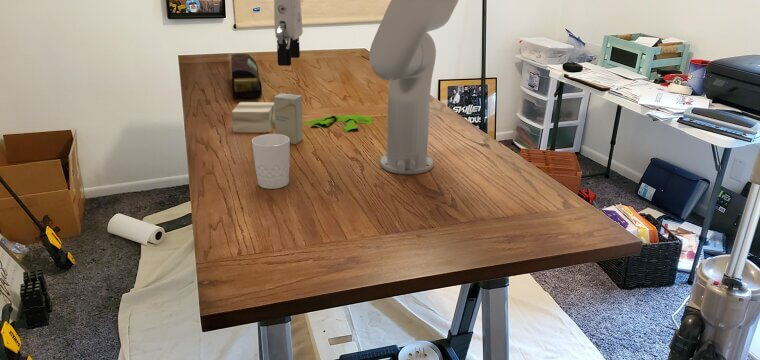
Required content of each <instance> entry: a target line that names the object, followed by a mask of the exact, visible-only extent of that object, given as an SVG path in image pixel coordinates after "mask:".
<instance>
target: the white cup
mask: <svg viewBox="0 0 760 360" xmlns="http://www.w3.org/2000/svg"><path fill="white" fill-rule="evenodd" d="M290 145H291V144H290V139H289V137H287V136H285V135H281V134H275V133H267V134H260V135H257V136H255V137H253V138H251V146H252V153H253V154H252V155H253V162H254V168H255V173H256V178H257V185H258V186H259V187H261V188H263V189H266V190H267V189H270V190H271V189H272V190H274V189H280V188H283V187H286V186H288V184H290V165H291V164H290V163H291V158H290V157H291V156H290V155H291V152H290V151H291V150H290V147H291V146H290Z"/></svg>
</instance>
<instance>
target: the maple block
mask: <svg viewBox="0 0 760 360" xmlns="http://www.w3.org/2000/svg"><path fill="white" fill-rule="evenodd" d="M231 121H232V130H233V131H232V132H233V133H266V132H270V133H271V131H272V130H273V128H274V127H275V113H274V101H273V102H267V101H266V102H265V101H263V102H262V101H259V102H258V101H239V103H238V104H237V105H236V106H235V107H234V108H233V110H232V111H231Z"/></svg>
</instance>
